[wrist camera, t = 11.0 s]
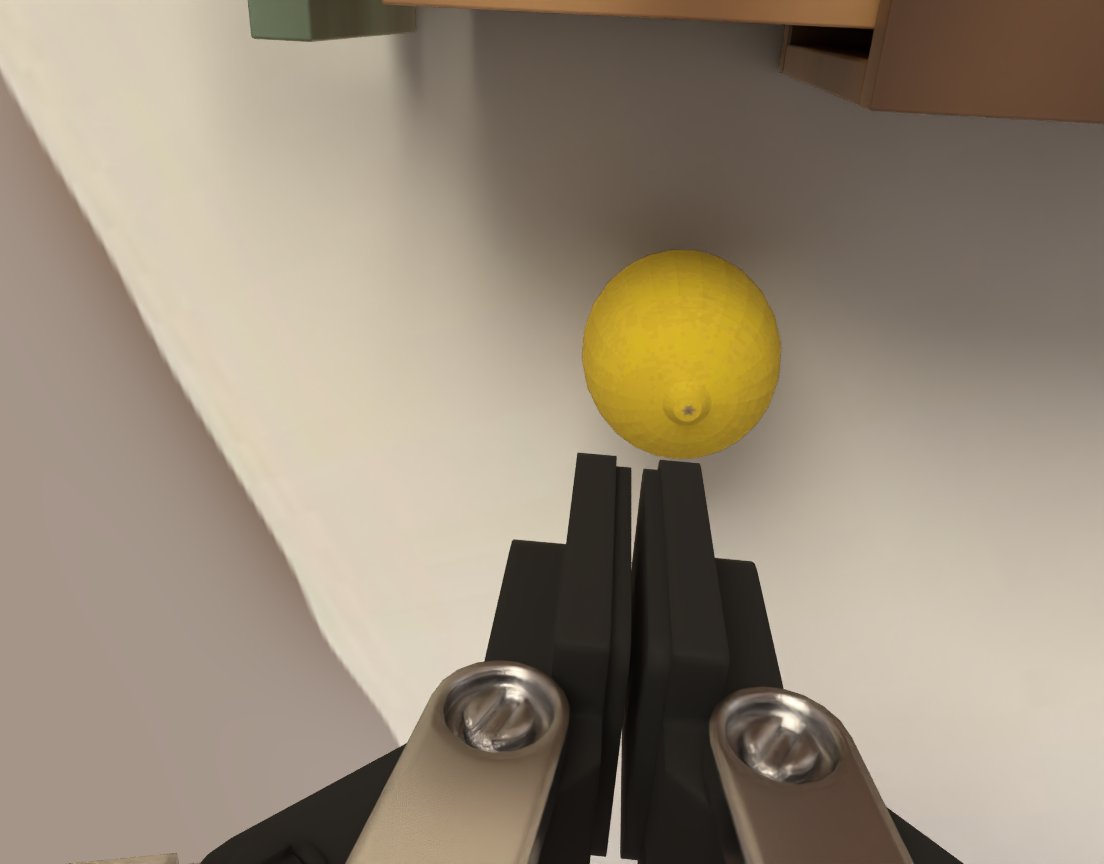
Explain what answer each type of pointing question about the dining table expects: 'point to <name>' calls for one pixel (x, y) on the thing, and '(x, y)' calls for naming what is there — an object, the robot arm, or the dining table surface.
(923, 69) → the cabinet
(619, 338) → the lemon
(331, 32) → the drawer
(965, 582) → the dining table surface
